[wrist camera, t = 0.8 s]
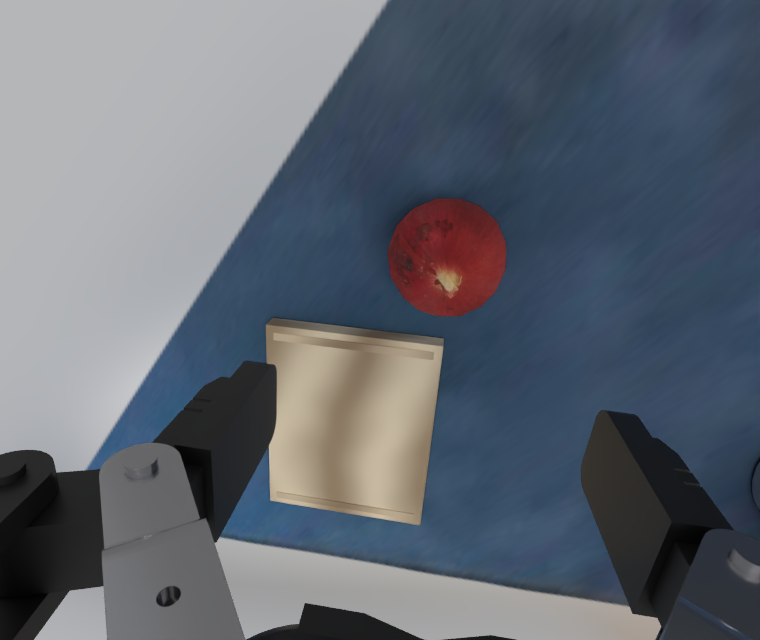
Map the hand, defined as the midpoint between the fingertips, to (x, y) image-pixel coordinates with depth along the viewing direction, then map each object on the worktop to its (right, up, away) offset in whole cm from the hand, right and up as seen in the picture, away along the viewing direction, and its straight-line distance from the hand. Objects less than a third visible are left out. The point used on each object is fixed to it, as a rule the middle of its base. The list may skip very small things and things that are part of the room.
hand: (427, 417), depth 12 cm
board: (-3, -5, +21) cm, 21 cm away
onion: (+3, +7, +15) cm, 17 cm away
